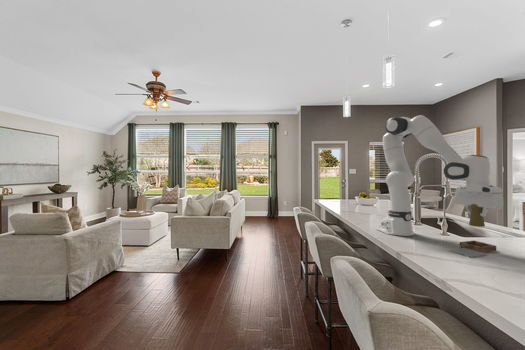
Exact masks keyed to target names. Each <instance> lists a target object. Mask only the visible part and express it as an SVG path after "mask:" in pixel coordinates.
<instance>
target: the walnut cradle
mask: <svg viewBox="0 0 525 350" xmlns="http://www.w3.org/2000/svg"><path fill="white" fill-rule="evenodd" d="M461 247H462V248H467V249H471V250H474V251H478V252H482V253H485V254H486V253H490V252H491V253H492V252H496V251H497V245H495V244H490V243H485V242H483V241H482V242H481V241H478V240H468V241H467V240H465V241H459V248H461Z"/></svg>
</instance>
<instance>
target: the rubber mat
mask: <svg viewBox="0 0 525 350" xmlns="http://www.w3.org/2000/svg"><path fill="white" fill-rule="evenodd" d="M448 252H452V253H453V254H454V253H456V254H458V255H461V256H465V257H467V256H468V258H477V256H479V257H485V255H486V256H488V254H487V253H486V252H485V253H482V252H478V251H474V250H471V249H467V248H461V247H459V248H454V249H451V248H450V249H449V251H448Z"/></svg>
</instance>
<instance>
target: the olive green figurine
mask: <svg viewBox="0 0 525 350" xmlns="http://www.w3.org/2000/svg"><path fill="white" fill-rule="evenodd" d="M470 209H471V215H470V217H469V222H468V225H469V226H471V227H475V228H476V227H478V228H484V227H486V226H485V225H486V224H485V220H484V219H485V217H481V216H480V213H482V212H483V211H484V210H483V207H478V205H476V204H471V205H470Z"/></svg>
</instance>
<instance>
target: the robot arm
mask: <svg viewBox="0 0 525 350" xmlns="http://www.w3.org/2000/svg"><path fill="white" fill-rule="evenodd" d="M385 130H386V131H385V132H386V133H385V134H384V135H383V136H382V149H383V153H384V158H385V163H386V165H387V166H388V168H389V170H390V173H388V174H387V175H386V177H385V184H386V185H387V188H388V191H389V192H388V193H389V198H390V210H388V211H387V213H388V214H387V216H386V217H384V218H383V219H381V220H380V223H379V226H377V227H375V230H377V231H380V232H382V233H384V234H386V235H392V236H400V237H401V236H406V237H408V236H410V237H411V236H414V235H415V233H414V230H413V224H412V210H411V209H412V207H411V206H412V204H411V202H412V201H411V199H412V198H411V196H410V193H409V187H410V186H412V185H413V183H414V182H415V177H414V174H413V172H412V171H411V168H410V166H409V163H408V161H407V158H406V155H405V150H404V146H403V141H402V140H403V138H404V139H405V138H407V137H409V136H411V135H412V136H414V137H415V139H416V141H418V142H419V144H421V146H423V147H424V148H426V149H429V150H431V151H434V152H436V153H438V154H439V155H440V156H441V157H442V158H443V159H444V160H445V162H446V163H447V164H446V165H445V166H444V168H443V174H444V176H445V178H446V179H448V180H452V181H463V182H464V181H466V182H465V186H462V185H461V186H460V185H459V186H458V187H456V188H455V195H454V199H453V200H454V201H453V202H454V203H455V204H456V205H463V206H464V208H465V210H466V211H467V215H470V216H471V208H470V205H471V204H476V205H478V207H483V210H482V213H480V216H481V217H483V218H486V216H487V213H488V212H489V211H490V209H493V210H502V209H503V208H504V196H503V194H502V193H503V189H502V188H501V187H499V186H495V185H492V184H490V178H489V177H490V175H491V164H490V163H491V162H490V159H489V158H488V156H486V155H478V154H469V155H467V156H466V157H464V158H462V157H461V156H460V155H459V153H457V152H456V150H455V149H454V148H453V147H452V146H451V145H450V144H449V143H448V141H447V140H446V139H445V137H444V136H443V134H442V132H441V131H440V130H439V129H438V127H437V126H436V125H435V124H434V123H433V122H432V121H431V120H430V119H429V118H427V117H426V116H425V115H421V114H420V115H416V116H414V117H407V116H392V117H390V118H389V119H388V120H387V121H386V123H385Z"/></svg>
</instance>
